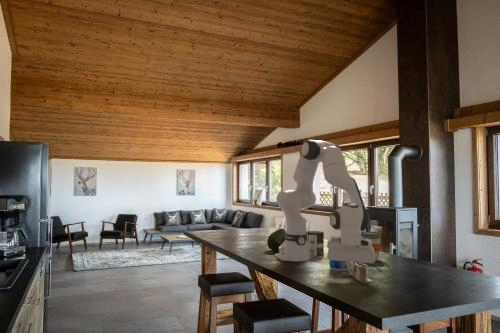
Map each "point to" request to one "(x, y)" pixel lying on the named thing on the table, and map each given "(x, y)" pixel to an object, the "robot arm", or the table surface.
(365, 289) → the table surface
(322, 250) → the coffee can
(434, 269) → the table surface
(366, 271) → the gate frame
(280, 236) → the squash
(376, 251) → the reusable coffee cup
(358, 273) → the gate
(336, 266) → the beer can
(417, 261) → the table surface
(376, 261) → the glasses
